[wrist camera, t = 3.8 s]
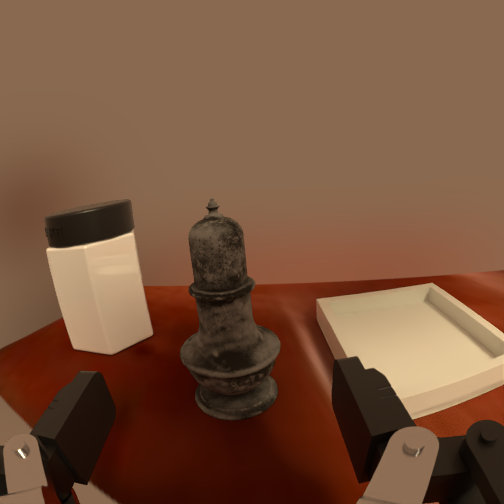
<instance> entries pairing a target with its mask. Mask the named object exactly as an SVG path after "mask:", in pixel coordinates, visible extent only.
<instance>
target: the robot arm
mask: <svg viewBox="0 0 504 504" xmlns="http://www.w3.org/2000/svg"><path fill="white" fill-rule="evenodd" d="M332 405H333V410H334V413H335V416H336V419H337V421H338V424H339V427H340V430H341V433H342V436H343V439H344V441H345V444H346V447H347V450H348V453H349V456H350V459H351V462H352V465H353V468H354V471H355V474H356V476H357V479H358V482H359V483H364V482H367V481H370V483H369V485H368V487H367V489H366V491H365V493H364V494H363V496H362V497H360V499H359V500H358V502H357V503H356V504H424V503H434V502H439V504H504V426H502V425H501V424H499V423H498V422H495V421H492V420H482V421H478V422H476V423H474V424H473V425H471V426H470V427H469V429H468V431H467V433H466V435H463V436H455V437H444V438H439V437H436V436H435V435H434V433H432V432H431V431H429V430H428V429H425V428H422V427H417V426H416V425H415V423H414V421H413V420H412V418H411V416H410V415H409V413H408V411H407V410H406V408H405V407H404V405H403V403H402V402H401V400H400V398H399V397H398V396H397V395H396V392H395V390H394V389H393V387H391V384H390V383H389V381H388V379H387V378H386V376H385V375H384V374H382V373H381V372H379V371H378V370H376V369H375V368H369V369H365V368H364V366H363V365H362V363H361V361H360V359H359V358H358V357H357V356H354V357H348V358H342V359H336V360H335V361H334V366H333V383H332ZM115 416H116V410H115V405H114V402H113V400H112V397H111V395H110V393H109V390H108V388H107V385H106V383H105V380H104V378H103V375H102V374H101V373H100V372H92V371H80V372H79V373H78V374H77V375H76V377H75V378H74V379H73V381H72V382H71V383H69V384H68V385H66V386H65V387H64V388H62V389H61V390H60V391H59V392H58V393H57V395H56V396H55V398H54V399H53V402H51V403H50V405H49V406H48V409H46V410H45V412H44V413H43V415H42V416H41V418H40V419H39V421H38V422H37V424H36V425H35V427H34V428H33V430H32V431H31V433H30V434H19V435H16V436H14V437H12V438H11V439H9V440H8V441H7V443H6V444H5V446H0V504H80V503H79V500H78V498H77V495H76V493H75V491H74V489H73V488H72V487H73V484H74V482H75V483H79V484H84V485H87V484H88V482H89V479H90V477H91V474H92V472H93V469H94V467H95V465H96V462H97V460H98V457H99V455H100V453H101V450H102V448H103V446H104V443H105V441H106V439H107V436H108V434H109V432H110V429H111V427H112V425H113V423H114V420H115Z"/></svg>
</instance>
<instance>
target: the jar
mask: <svg viewBox="0 0 504 504" xmlns="http://www.w3.org/2000/svg"><path fill="white" fill-rule="evenodd" d="M44 220H45V231H46V236H47V238H48V243H49V246H50V247H49V248H48V249H47V250H46V252H47V257H48V261H49V266H50V270H51V274H52V279H53V283H54V287H55V290H56V294H57V298H58V301H59V305H60V308H61V312H62V315H63V318H64V322H65V325H66V328H67V331H68V334H69V337H70V340H71V343H72V346H73V348H74V349H76V350H82V351H88V352H95V353H101V354H108V355H114V354H116V353H118V352H120V351H122V350H124V349H126V348H128V347H130V346H132V345H134V344H136V343H138V342H140V341H142V340H144V339H147V338H149V337H151V336H152V335H153V328H152V323H151V318H150V313H149V309H148V304H147V299H146V294H145V290H144V285H143V279H142V274H141V269H140V264H139V258H138V252H137V246H136V240H135V233H134V220H133V212H132V205H131V201H130V200H116V201H110V202H104V203H98V204H92V205H87V206H82V207H77V208H72V209H68V210H64V211H60V212H56V213H52V214H49V215H47V216H45V218H44Z"/></svg>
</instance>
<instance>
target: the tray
mask: <svg viewBox="0 0 504 504" xmlns="http://www.w3.org/2000/svg"><path fill="white" fill-rule="evenodd" d="M316 315H317V321H318V324H319V326H320V328H321V330H322V332H323V334H324V336H325V339H326V341H327V343H328V345H329V347H330V349H331V352H332V354H333V356H334V358H335V360H336V359H342V358H348V357H354V356H357V357H358V358H359V359H360V361H361V363H362V365H363V366H364V368H365V369H369V368H375V369H376V370H378V371H379V372H381V373H382V374H384V375H385V376H386V378H387V379H388V381H389V383H390V384H391V387H393V389H394V390H395V392H396V395H397V396H398V397H399V398H400V400H401V402H402V403H403V405H404V407H405V408H406V410H407V411H408V413H409V415H410V416H411V418H412V420H413V419H416V418H419V417H422V416H425V415H428V414H431V413H434V412H437V411H440V410H443V409H446V408H449V407H451V406H454V405H457V404H459V403H462V402H464V401H467V400H469V399H472V398H474V397H477V396H479V395H481V394H484V393H486V392H488V391H490V390H493V389H495V388H497V387H499V386H501V385H503V384H504V334H503V333H502V332H501V331H499V330H498V329H497V328H495V327H494V326H493V325H491V324H490V323H489V322H487V321H486V320H485V319H483V318H482V317H481V316H479V315H478V314H476V313H475V312H474V311H472V310H471V309H469V308H468V307H467V306H465V305H464V304H462V303H461V302H460V301H458V300H457V299H455V298H454V297H452V296H451V295H450V294H448V293H447V292H445V291H444V290H442V289H441V288H439V287H438V286H436V285H435V284H433V283H429V284H423V285H416V286H410V287H403V288H397V289H390V290H383V291H376V292H368V293H361V294H353V295H345V296H337V297H329V298H320V299H316Z"/></svg>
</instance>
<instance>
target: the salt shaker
mask: <svg viewBox="0 0 504 504" xmlns="http://www.w3.org/2000/svg"><path fill="white" fill-rule="evenodd" d="M218 207H219V206H218V205H217V203H216V202H215V201H214V199H210V202H209V203H208V206H207V207H206V208H207V209H208V210H209V215H207V216H205V217H204V219H203V220H201V221H198V222H197V223H196V224H195V225H193V226H192V228H191V230H190V232H189V246H190V254H191V261H192V268H193V275H194V283H192V284H191V286H190V287H189V293H190V295H191V296H193V297H195V298H196V304H197V310H198V316H199V332H197V333H195V334H194V335H192V336H191V337H190V338H188V339H187V340H186V341H185V342H184V344H183V346H182V347H181V350H180V358H181V360H182V363H183V364H184V365H185V366H186V367H187V368H188V369H189V371H190V373H191V375H192V376H193V377H194V378H195V380H196V381H197V382H198V383H199V385H198V387H197V389H196V392H195V400H196V402H197V404H198V407H199V408H200V409H201V410H202V411H203V412H205V413H206V414H208V415H210V416H212V417H215V418H219V419H222V420H241V419H247V418H250V417H253V416H256V415H259V414H260V413H262V412H264V411H265V410H267V409H268V408H269V407H270V406H271V405H272V404H273V403H274V401H275V400H276V398H277V394H278V387H277V384H276V381H275V380H274V379H273V378H272V377H271V376H270V373H271V371H272V369H273V366H274V364H275V359H276V357H277V355H278V354H279V352H280V341H279V339H278V337H277V336H276V335H275V334H274V333H273V332H272V331H271V330H269V329H267V328H265V327H262V326H259V325H256V324H255V322H254V319H253V316H252V305H251V294H250V292H251V291H252V290H253V289H254V287H255V281H254V280H253V279H252V278H250V277H248V276H247V268H246V257H245V247H244V235H243V230H242V228H241V226H240V225H239V224H238V222H237V221H235V220H233V219H231V218H227V217H224V216H223V215H222V214H218V211H217V209H218Z"/></svg>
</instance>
